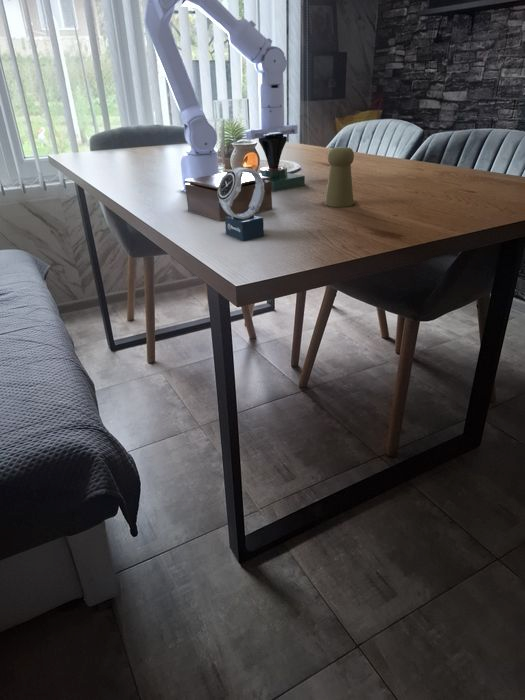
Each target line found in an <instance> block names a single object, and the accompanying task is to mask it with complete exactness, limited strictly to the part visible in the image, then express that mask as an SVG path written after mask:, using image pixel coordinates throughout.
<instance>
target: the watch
mask: <svg viewBox="0 0 525 700" xmlns="http://www.w3.org/2000/svg"><path fill="white" fill-rule="evenodd" d="M243 172H244V173H246V172H247V173H250V174H252V176H254V179H255V181H256V185H255V189H254V193H253V197H252V200H251V202H250V204H249V209H248V211H246V212H243V213H238V214H234V213H233V212H232V210H231V208H230V207H231V206H232V203H233V200H234V199H235V198H236V196H237V195H238V194H239V192H240V191H241V179H242V176H243V174H244V173H243ZM224 173H225V174H224V176H223V177H222V179H221V180H220V183H219V185H218V191H217V194H218V198H219V201H220V203H221V206H222V208H223V210H224V211H225V212H226V213H227V214H229V216H225V220H224V223H225V224H224V227H225V235H227V236H229V237H232V238H234V239H236V240H239V241H241V242H245V241H248V240H253V239H258V238H261V237H264V236H265V227H264V226H265V225H264V217H263V216H259V215H256V214H257V213H259V212H258V210H259V208H260V206H261V203H262V201H263V197H264V192H265V190H264V182H263V179H262V177H261V176H260V174H259V173H260V172H258V171H256V170H254V169H253V168H247V167H241V166H240V167H239V166H238V167H234V168H232V169H230V170H228V171H227V173H226V172H224ZM256 212H257V213H256Z"/></svg>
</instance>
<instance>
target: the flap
mask: <svg viewBox="0 0 525 700" xmlns="http://www.w3.org/2000/svg"><path fill="white" fill-rule="evenodd" d="M227 172H228V171H227ZM227 172H221V173H220V172H219V174H214V175H212V176H217V177H223V176H224V174H225V173H227ZM243 173H244V174H243V176H242V179H241V181H242V182H245V184H247V183H253V182H256V181H255V179H254V176H252V174H251V173H249V172H243ZM260 176H261V175H260ZM261 177H262V179H263V181H264V180H269V179H271V177H267V176H261Z"/></svg>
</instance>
